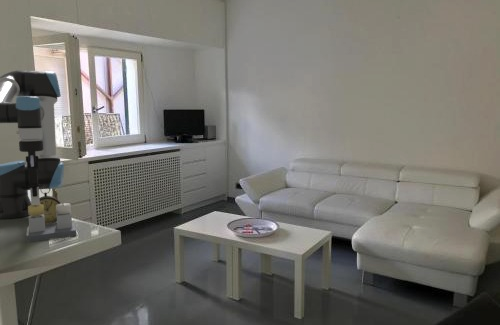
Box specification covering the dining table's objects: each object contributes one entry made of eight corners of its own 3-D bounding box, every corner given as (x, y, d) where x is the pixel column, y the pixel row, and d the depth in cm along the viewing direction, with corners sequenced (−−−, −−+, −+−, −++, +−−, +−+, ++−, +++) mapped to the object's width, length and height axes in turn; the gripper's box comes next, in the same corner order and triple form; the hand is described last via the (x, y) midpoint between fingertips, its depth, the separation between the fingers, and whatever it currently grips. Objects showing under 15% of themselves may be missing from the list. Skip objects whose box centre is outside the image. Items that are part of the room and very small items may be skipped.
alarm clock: (32, 229, 153) (29, 188, 151) (32, 225, 158) (29, 185, 155) (63, 225, 158) (61, 185, 156) (62, 222, 163) (60, 183, 161)
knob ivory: (56, 224, 150) (55, 203, 149) (71, 222, 153) (70, 202, 152) (57, 228, 146) (55, 206, 145) (72, 226, 148) (70, 204, 147)
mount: (27, 231, 150) (26, 213, 149) (73, 225, 158) (72, 208, 157) (26, 242, 138) (25, 222, 137) (76, 235, 145) (75, 216, 144)
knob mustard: (29, 226, 146) (28, 204, 145) (45, 224, 149) (43, 203, 148) (29, 229, 142) (27, 207, 141) (45, 227, 144) (43, 205, 143)
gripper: (19, 139, 145) (24, 202, 148) (17, 141, 134) (23, 209, 137) (42, 138, 149) (47, 200, 151) (42, 140, 137) (47, 207, 140)
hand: (35, 204), depth 144 cm, fingers closed
